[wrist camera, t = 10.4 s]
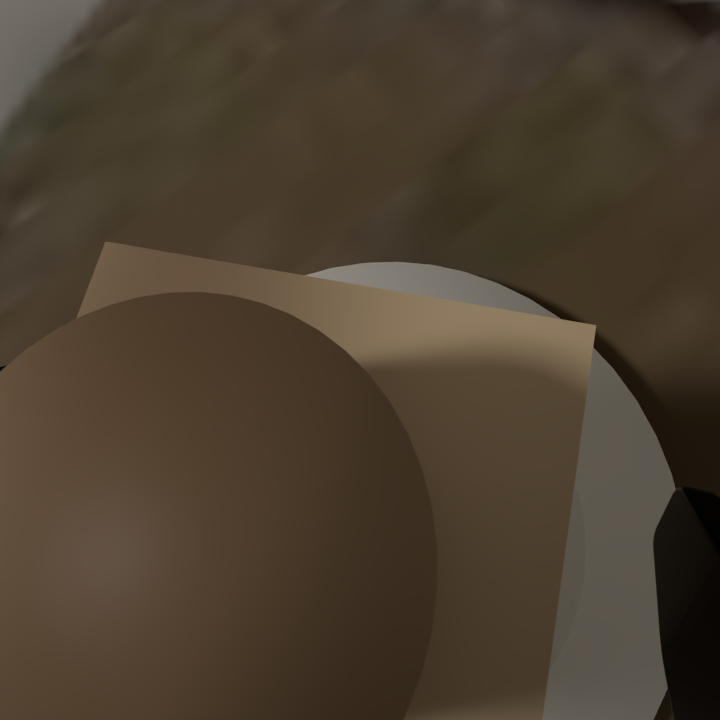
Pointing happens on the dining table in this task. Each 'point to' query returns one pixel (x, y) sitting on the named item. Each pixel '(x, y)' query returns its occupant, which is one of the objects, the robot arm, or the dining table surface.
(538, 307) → the cream plate
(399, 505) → the pepper mill
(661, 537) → the robot arm
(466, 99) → the dining table surface
